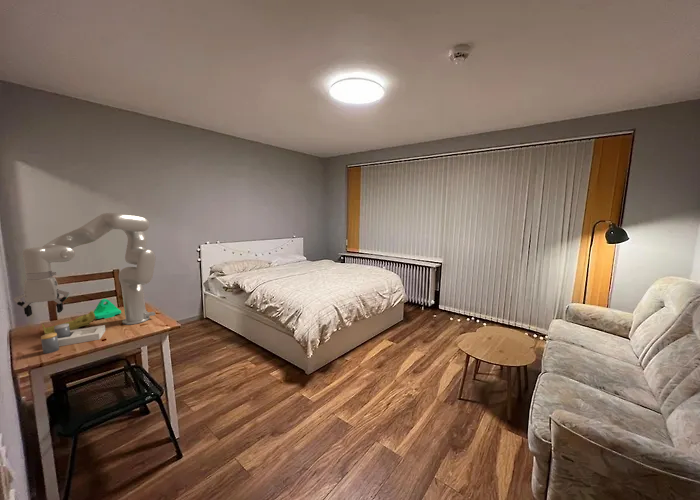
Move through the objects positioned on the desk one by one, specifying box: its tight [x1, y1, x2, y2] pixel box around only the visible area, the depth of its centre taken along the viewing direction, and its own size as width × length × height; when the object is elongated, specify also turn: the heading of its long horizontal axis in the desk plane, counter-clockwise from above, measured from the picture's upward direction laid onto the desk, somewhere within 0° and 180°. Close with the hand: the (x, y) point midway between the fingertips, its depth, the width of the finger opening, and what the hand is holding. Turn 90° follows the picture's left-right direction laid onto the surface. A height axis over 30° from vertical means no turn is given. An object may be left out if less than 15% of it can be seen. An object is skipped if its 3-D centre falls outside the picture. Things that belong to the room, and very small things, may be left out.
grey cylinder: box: [54, 323, 71, 338], centre depth 137 cm, size 5×5×8 cm
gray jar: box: [40, 333, 60, 355], centre depth 128 cm, size 5×5×8 cm
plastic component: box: [41, 310, 96, 335], centre depth 153 cm, size 20×7×10 cm
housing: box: [58, 324, 106, 347], centre depth 140 cm, size 20×12×4 cm, turn 120°
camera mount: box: [93, 298, 122, 320], centre depth 171 cm, size 12×8×10 cm, turn 145°
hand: (44, 313), depth 126 cm, fingers open, 9 cm apart
